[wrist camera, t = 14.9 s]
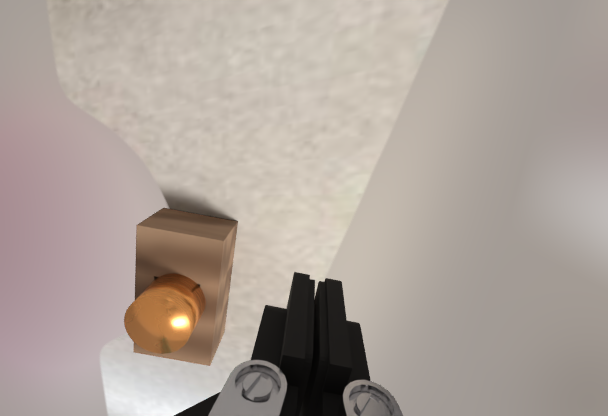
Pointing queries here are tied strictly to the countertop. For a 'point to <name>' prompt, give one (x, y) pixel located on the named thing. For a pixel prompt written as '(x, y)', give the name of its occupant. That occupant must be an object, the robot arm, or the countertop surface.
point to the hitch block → (189, 270)
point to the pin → (165, 313)
